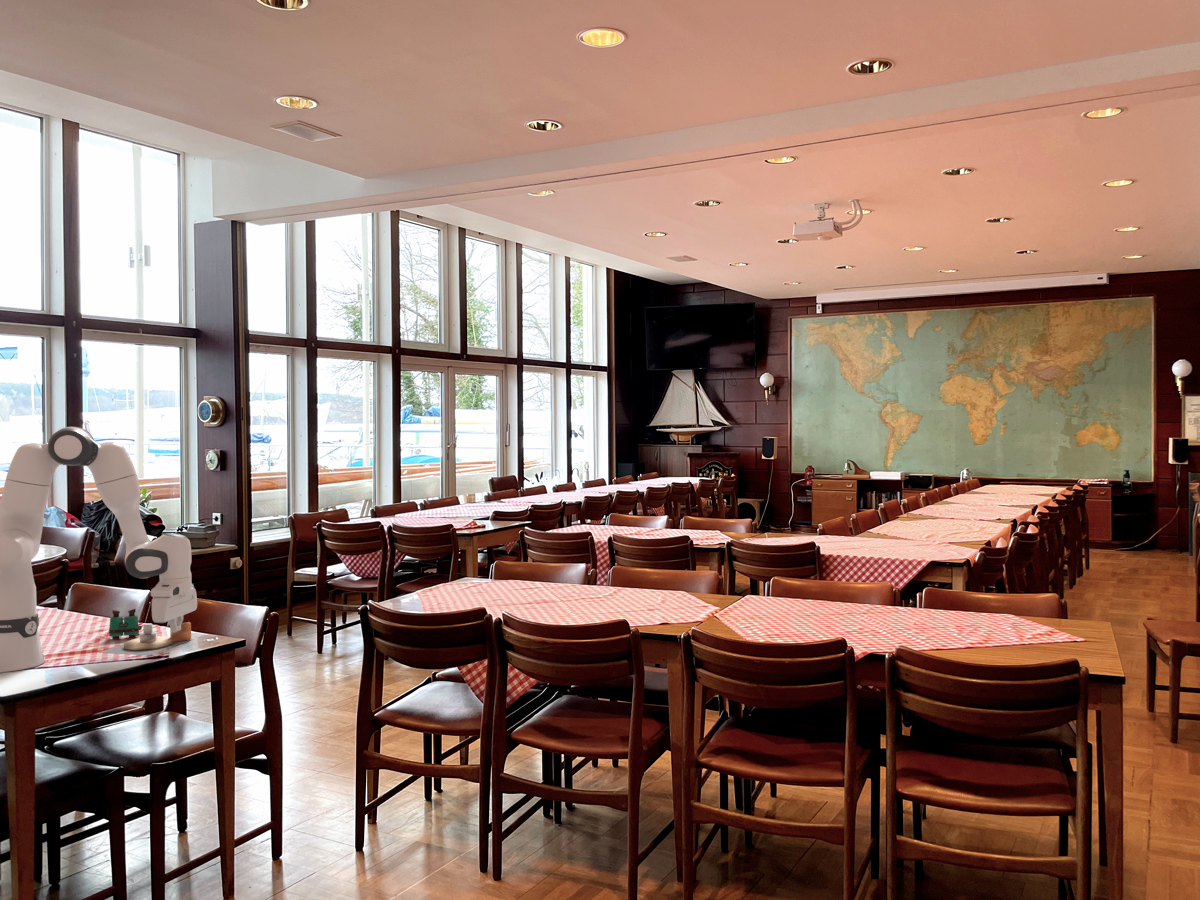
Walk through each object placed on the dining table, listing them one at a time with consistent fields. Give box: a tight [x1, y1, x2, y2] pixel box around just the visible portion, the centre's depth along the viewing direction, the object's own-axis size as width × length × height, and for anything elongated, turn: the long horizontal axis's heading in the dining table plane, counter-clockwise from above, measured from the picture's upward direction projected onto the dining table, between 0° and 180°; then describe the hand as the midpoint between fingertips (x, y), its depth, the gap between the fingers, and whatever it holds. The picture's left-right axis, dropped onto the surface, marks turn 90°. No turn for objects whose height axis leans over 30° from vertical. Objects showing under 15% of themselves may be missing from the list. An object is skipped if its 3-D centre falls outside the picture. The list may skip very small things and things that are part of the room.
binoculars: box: [108, 608, 142, 641], centre depth 282 cm, size 9×11×10 cm
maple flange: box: [123, 621, 192, 650], centre depth 272 cm, size 18×13×5 cm
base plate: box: [99, 623, 195, 656], centre depth 270 cm, size 17×20×8 cm
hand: (175, 631), depth 272 cm, fingers closed
